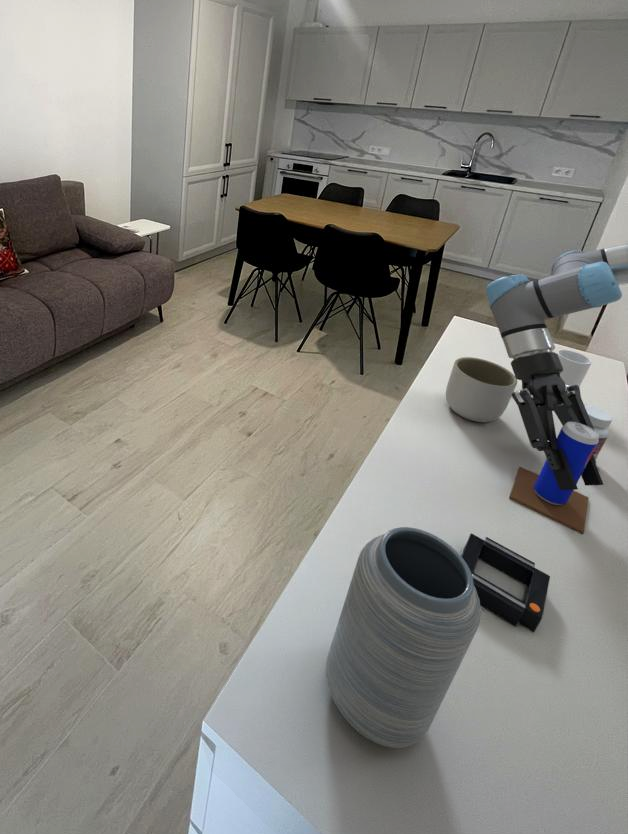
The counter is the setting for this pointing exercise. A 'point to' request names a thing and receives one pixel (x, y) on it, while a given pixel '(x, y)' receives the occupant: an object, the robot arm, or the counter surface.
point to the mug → (573, 366)
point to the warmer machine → (517, 568)
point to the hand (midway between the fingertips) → (581, 487)
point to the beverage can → (577, 450)
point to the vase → (401, 635)
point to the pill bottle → (599, 425)
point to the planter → (479, 389)
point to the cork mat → (564, 514)
